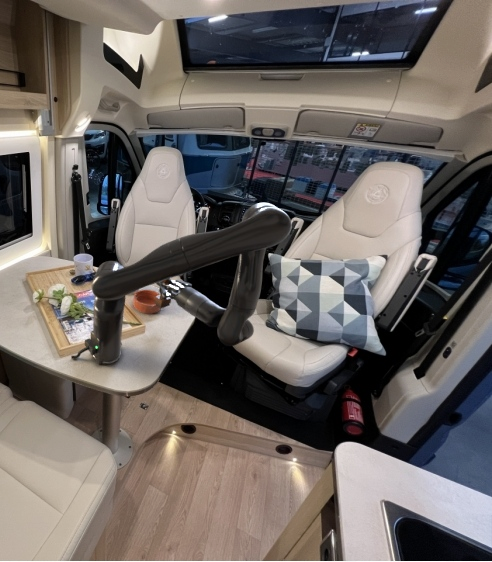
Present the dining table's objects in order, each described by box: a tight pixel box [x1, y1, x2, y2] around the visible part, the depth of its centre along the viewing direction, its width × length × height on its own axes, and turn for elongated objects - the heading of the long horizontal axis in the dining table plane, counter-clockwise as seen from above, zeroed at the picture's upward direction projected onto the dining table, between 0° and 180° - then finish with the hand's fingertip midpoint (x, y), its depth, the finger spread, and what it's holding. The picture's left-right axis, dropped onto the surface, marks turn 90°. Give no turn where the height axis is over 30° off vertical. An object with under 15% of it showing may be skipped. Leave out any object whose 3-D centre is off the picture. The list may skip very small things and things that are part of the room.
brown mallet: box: [155, 278, 172, 309], centre depth 107 cm, size 5×4×14 cm
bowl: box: [132, 289, 162, 315], centre depth 122 cm, size 12×12×4 cm
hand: (160, 279), depth 108 cm, fingers closed on brown mallet, 2 cm apart
